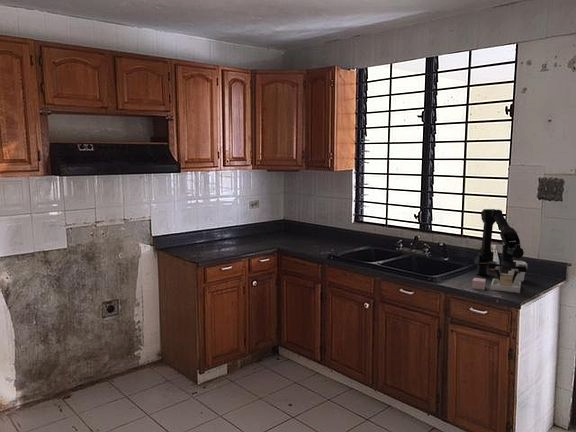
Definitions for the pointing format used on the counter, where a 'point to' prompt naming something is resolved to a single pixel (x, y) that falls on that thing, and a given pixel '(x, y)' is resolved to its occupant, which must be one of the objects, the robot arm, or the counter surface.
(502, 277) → the oak block
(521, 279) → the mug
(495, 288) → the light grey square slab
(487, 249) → the robot arm
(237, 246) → the counter surface
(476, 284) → the rose box
